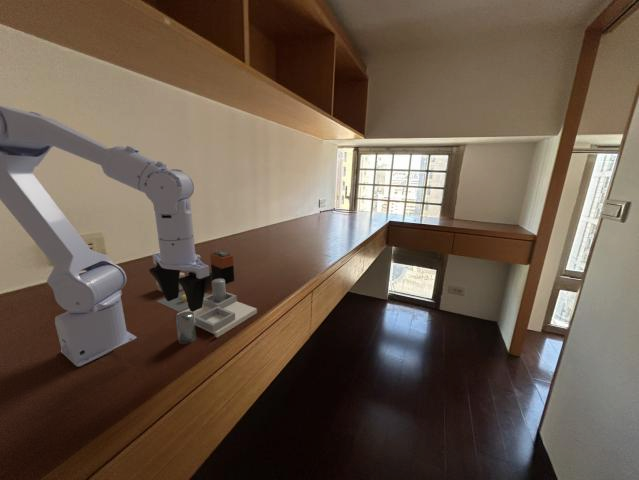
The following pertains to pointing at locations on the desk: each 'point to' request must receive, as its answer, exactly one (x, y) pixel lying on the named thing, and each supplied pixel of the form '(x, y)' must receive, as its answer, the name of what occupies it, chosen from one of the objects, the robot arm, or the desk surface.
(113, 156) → the robot arm
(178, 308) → the tile
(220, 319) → the build board
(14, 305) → the desk surface
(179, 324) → the pin
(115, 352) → the desk surface
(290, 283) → the desk surface
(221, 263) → the battery
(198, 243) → the desk surface
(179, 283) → the box
